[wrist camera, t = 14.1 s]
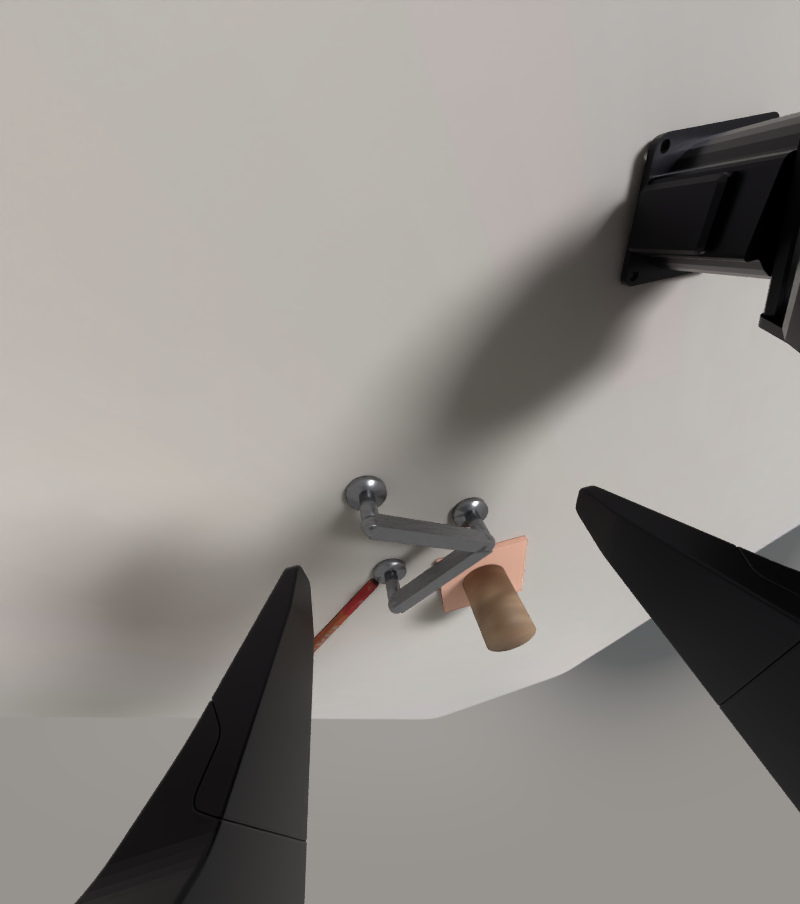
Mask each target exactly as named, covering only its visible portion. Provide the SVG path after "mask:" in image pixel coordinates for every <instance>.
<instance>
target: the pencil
mask: <svg viewBox="0 0 800 904" xmlns="http://www.w3.org/2000/svg"><path fill="white" fill-rule="evenodd" d="M378 585H379V582H377V581H376V580H375V579H370V581H369V582H368V583H367V584H366V585H365V586H364V587H363V588H362V589H361V590H360V591H359V592H358V593H357V594H356V595H355V596H354V598H353V599H352V600H351V601H350V602H349V603H348V604H347V605H346V606H345V607H344V608H343V609H342V610H341V611H340V612H339V613H338V614H337V616H336V617H335V618H334V619H333V620H332V621H331V622H330V623H329V624H328V625H327V626H326V627H325V628H324V629H323V630H322V631H321V632H320V634H319V635H318V636H317V637H316V638H315V639H314V652H315V651H316V650H317V649H318V648H319V647H320V646H321V645H322V644H323V643H324V642H325V641H326V640H327V638H328V637H329V636H330V635H331V634H332V633H333V632H334V631H335V630H336V629H337V628H338V627H339V626H340V625H341V624H342V623H343V622H344V621H345V620H346V619H347V618H348V617H349V616H350V615H351V614H352V613H353V612H354V610H355V609H356V608H357V607H358V606H359V605H360V604H361V603H362V602H363V601H364V600H365V599H366V598H367V597H368V596H369V595H370V594H371V593H372V592H373V591H374V590H375V589H376V588H377V587H378Z"/></svg>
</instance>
